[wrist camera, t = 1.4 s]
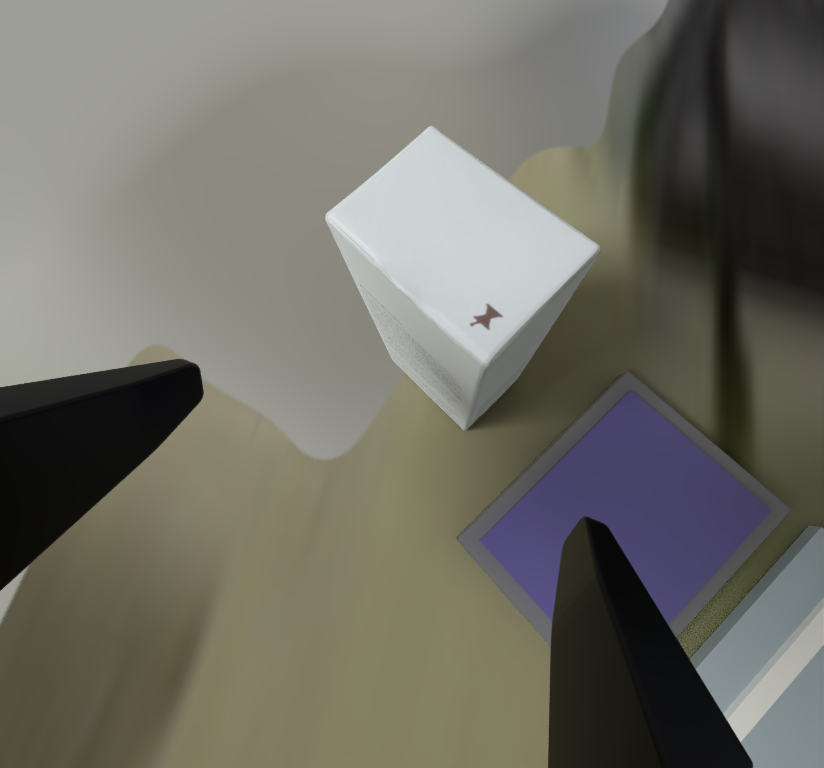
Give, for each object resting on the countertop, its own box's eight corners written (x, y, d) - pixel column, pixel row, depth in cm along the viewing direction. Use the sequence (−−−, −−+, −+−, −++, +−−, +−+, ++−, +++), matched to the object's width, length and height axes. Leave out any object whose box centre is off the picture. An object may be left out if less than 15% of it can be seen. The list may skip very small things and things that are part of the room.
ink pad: (599, 698, 16) (611, 716, 15) (456, 536, 19) (457, 541, 17) (772, 507, 18) (797, 510, 16) (619, 375, 20) (630, 369, 18)
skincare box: (519, 378, 20) (614, 248, 9) (464, 433, 20) (486, 374, 8) (440, 307, 22) (431, 115, 10) (388, 357, 21) (314, 216, 10)
